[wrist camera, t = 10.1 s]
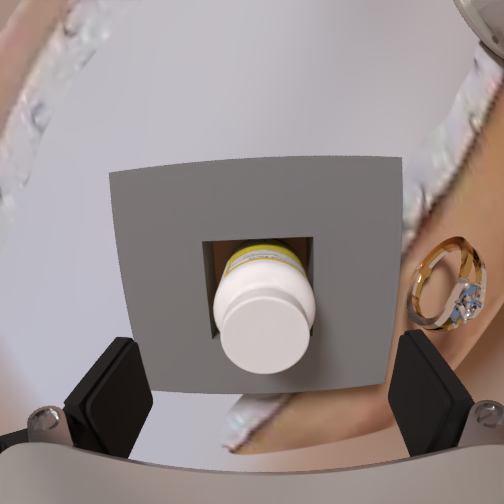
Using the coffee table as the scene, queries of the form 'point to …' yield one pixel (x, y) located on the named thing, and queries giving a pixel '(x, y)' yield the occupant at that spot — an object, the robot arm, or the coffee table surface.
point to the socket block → (260, 227)
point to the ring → (461, 293)
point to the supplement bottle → (264, 307)
